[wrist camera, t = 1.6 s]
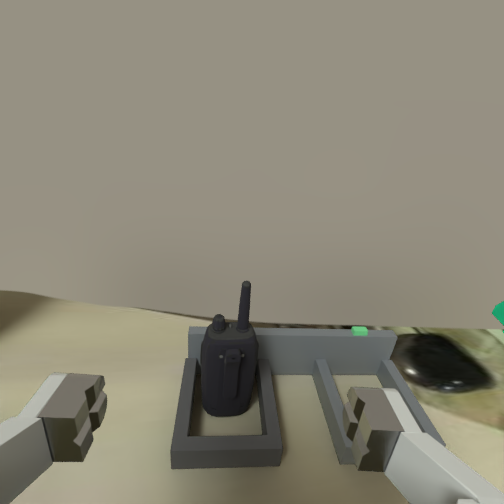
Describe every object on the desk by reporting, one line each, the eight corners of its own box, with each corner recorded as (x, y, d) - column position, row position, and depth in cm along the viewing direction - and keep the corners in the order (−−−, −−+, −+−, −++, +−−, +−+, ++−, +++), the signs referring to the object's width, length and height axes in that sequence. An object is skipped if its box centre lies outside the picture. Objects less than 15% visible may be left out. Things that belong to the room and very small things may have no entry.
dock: (175, 469, 26) (172, 418, 23) (189, 366, 36) (189, 322, 34) (436, 461, 29) (463, 414, 26) (381, 367, 39) (396, 326, 36)
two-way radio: (249, 389, 34) (262, 273, 28) (256, 426, 30) (273, 301, 24) (199, 392, 33) (201, 273, 27) (199, 432, 29) (201, 303, 23)
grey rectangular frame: (171, 469, 26) (170, 451, 25) (185, 374, 35) (185, 358, 34) (279, 466, 27) (282, 448, 26) (266, 374, 36) (268, 358, 35)
